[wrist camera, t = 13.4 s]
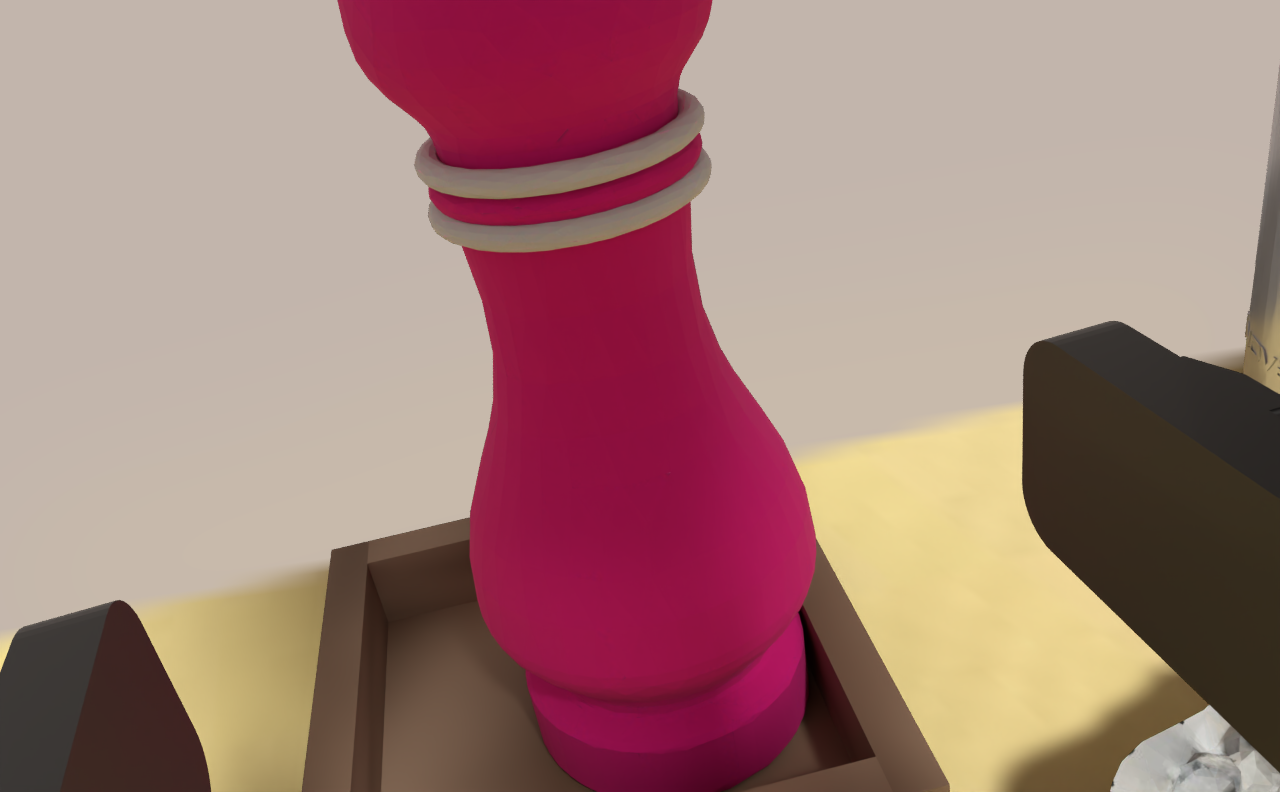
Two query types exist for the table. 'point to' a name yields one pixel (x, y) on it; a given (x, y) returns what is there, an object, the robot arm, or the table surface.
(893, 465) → the table surface
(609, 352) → the pepper mill
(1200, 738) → the egg carton
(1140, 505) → the robot arm
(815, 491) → the table surface
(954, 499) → the table surface
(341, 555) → the tray
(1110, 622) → the table surface
